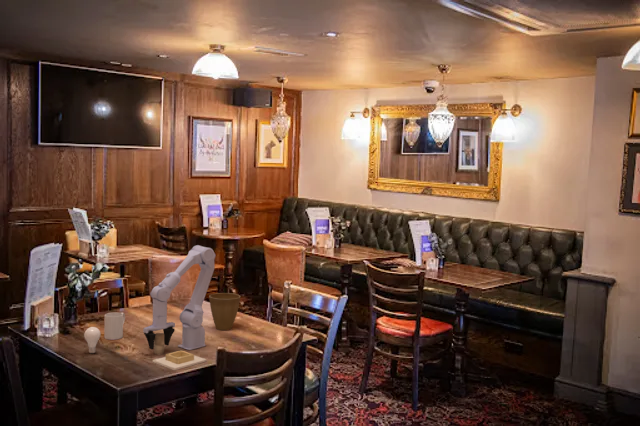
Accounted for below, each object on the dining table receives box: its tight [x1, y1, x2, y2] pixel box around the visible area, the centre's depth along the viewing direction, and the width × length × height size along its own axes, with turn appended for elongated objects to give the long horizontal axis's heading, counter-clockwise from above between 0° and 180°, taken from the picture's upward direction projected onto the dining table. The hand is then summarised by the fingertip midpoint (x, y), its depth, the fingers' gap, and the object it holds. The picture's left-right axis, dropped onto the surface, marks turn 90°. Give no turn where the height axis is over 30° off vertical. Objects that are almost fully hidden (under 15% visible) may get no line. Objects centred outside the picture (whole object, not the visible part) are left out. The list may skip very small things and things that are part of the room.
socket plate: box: [152, 350, 208, 371], centre depth 262 cm, size 16×14×3 cm
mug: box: [103, 311, 126, 341], centre depth 293 cm, size 12×8×10 cm, turn 165°
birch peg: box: [153, 332, 165, 355], centre depth 272 cm, size 4×4×8 cm
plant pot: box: [208, 292, 241, 331], centre depth 314 cm, size 15×15×16 cm
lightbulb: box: [83, 326, 102, 354], centre depth 268 cm, size 6×6×11 cm
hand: (159, 346), depth 272 cm, fingers open, 7 cm apart
